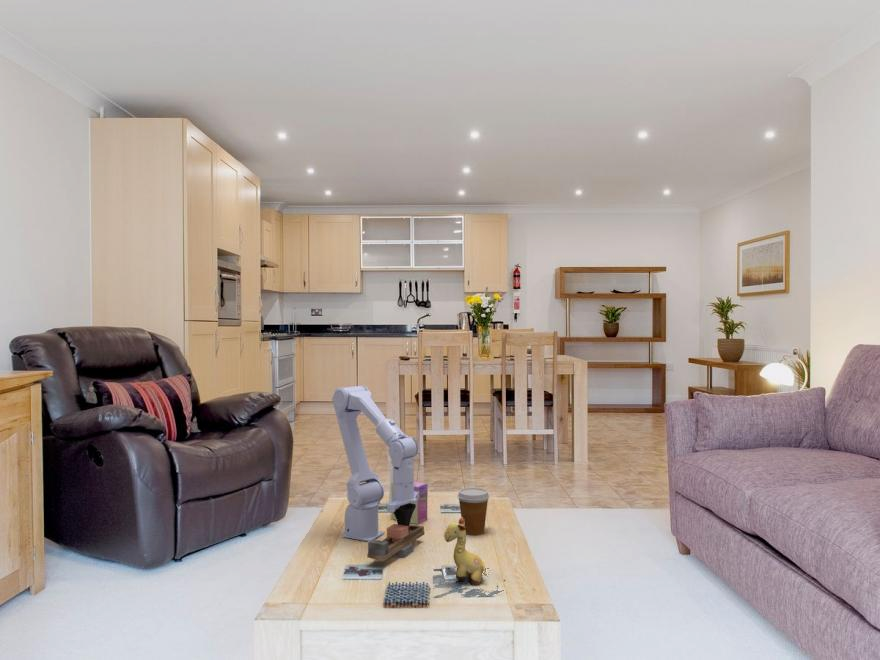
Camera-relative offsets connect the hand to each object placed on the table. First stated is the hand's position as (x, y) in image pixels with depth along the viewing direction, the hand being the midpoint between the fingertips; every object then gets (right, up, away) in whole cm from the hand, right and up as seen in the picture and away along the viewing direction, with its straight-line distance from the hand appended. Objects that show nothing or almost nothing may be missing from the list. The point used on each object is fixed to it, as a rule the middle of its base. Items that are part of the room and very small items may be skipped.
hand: (403, 531), depth 166 cm
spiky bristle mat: (+3, -6, -30) cm, 31 cm away
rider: (-1, -2, -3) cm, 4 cm away
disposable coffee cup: (+20, -5, +14) cm, 25 cm away
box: (0, -5, +26) cm, 26 cm away
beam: (-2, -5, -3) cm, 6 cm away
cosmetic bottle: (-5, -5, +38) cm, 39 cm away
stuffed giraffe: (+17, -5, -22) cm, 29 cm away
